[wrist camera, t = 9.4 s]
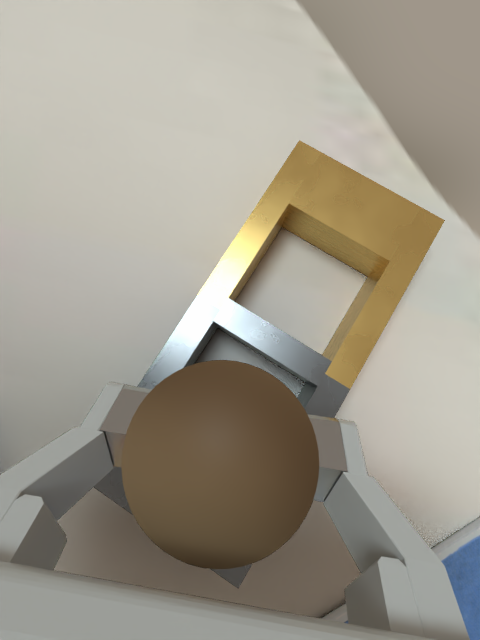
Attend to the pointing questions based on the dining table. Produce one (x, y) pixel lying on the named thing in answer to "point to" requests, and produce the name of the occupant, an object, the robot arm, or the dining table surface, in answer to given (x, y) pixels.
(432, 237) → the gold and grey tray
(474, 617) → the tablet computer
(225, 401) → the walnut peg
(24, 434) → the dining table surface
